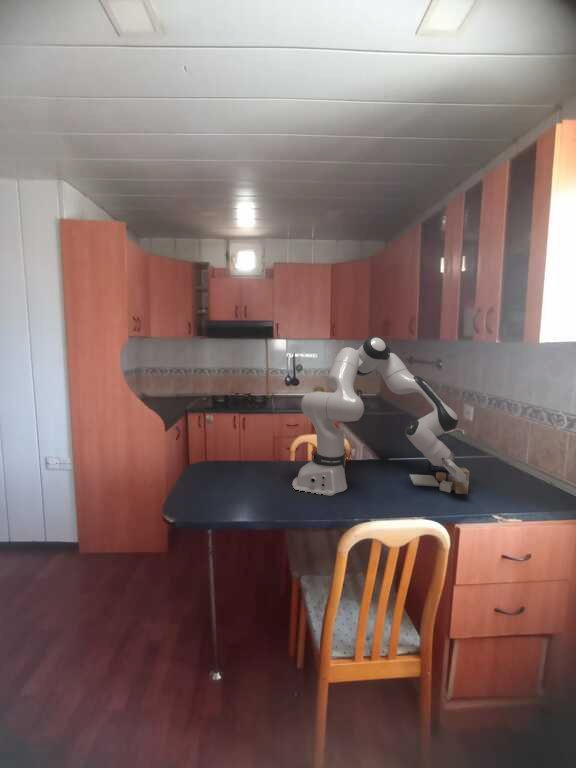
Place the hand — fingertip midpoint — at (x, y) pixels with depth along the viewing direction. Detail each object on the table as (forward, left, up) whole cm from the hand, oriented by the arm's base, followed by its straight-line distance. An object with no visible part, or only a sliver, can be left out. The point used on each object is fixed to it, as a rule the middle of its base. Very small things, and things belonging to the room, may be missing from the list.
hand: (462, 479), depth 146 cm
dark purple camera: (-2, +23, -5) cm, 24 cm away
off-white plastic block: (-6, 0, -5) cm, 8 cm away
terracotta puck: (-5, +10, -5) cm, 13 cm away
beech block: (-1, 0, -5) cm, 5 cm away
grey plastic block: (0, +9, -5) cm, 11 cm away
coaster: (-13, +8, -5) cm, 16 cm away
